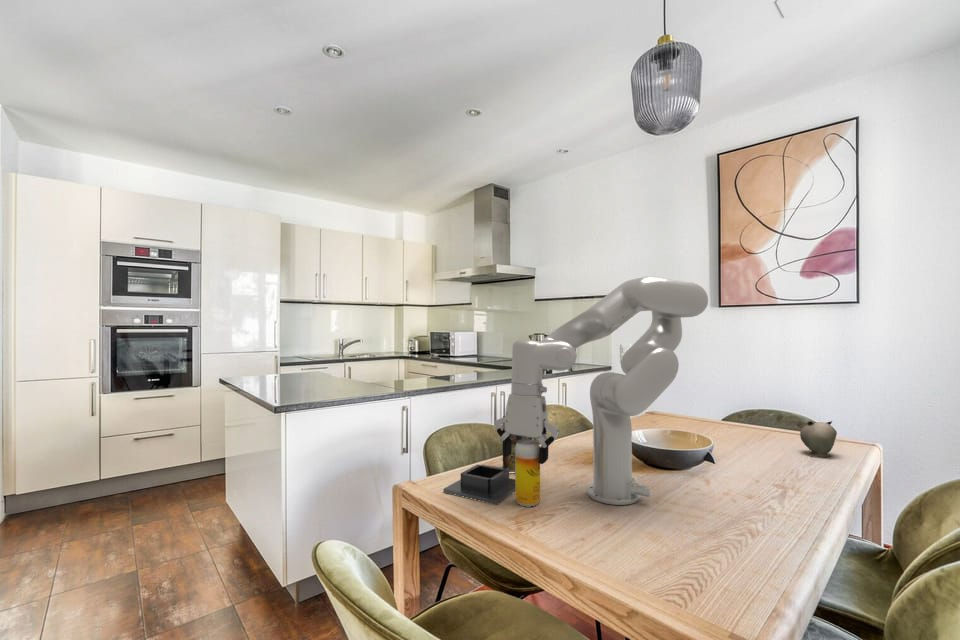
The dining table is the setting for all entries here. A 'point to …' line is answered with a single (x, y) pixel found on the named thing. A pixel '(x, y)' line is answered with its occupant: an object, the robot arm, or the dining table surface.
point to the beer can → (527, 472)
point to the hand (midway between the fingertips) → (524, 459)
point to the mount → (484, 484)
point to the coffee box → (510, 460)
